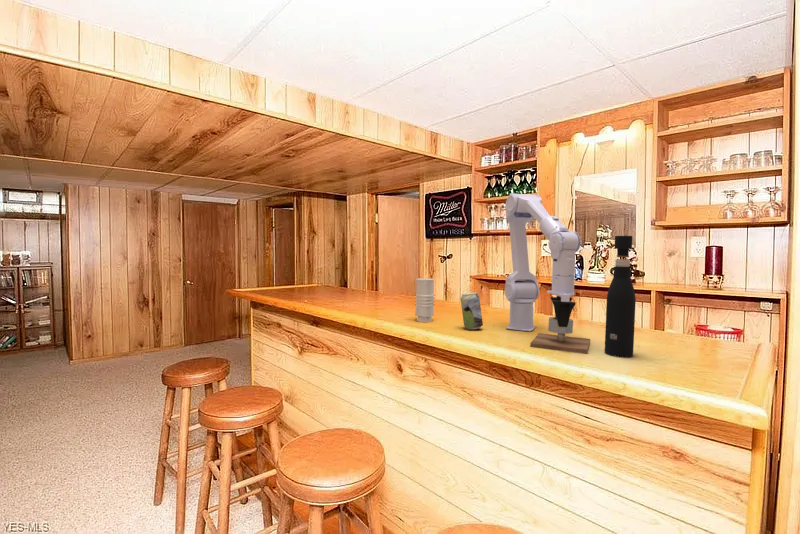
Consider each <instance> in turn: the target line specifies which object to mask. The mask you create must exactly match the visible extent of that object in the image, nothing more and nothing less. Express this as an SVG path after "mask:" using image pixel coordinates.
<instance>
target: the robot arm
mask: <svg viewBox="0 0 800 534" xmlns="http://www.w3.org/2000/svg"><path fill="white" fill-rule="evenodd" d="M505 215H506V216H505V217H506V221H508V223H509V234H510V250H511V262H512V273H511V274H509V275H508V276H507V277H506V278H505V286H504V295H505V297H506V299H507V301H509V325H508V326H506V329H507V330H515V331H523V332H532V331H533V330H534V329H535V328H536V327H537V325H536V324H534V303H536V300H537V299H538V297H539V296H540V292H541V291H540V287H539V284H538V280H537V277H536V276H535V274H533V273H532V272H531V271H530V264H529V250H528V240H527V239H528V238H527V228H526V227H527V226H526V225H527V224H528V223H529V222H531V221H532V220H533V219H535V220H536V221H537V222H538V223H539V231H540V232H542V234H543V235H544V237H545V238H546V239H547V240H548V247H549V248H548V249H549V250H550V258H551V259H552V268H551V271H552V272H551V274H552V275H551V290H547V291H546V294H549V295H550V294H551V295H554V296H551V297H550V299H551V302H552V305H553V309H554V317H557V321H558V325H559V327H567V326H568V323H569V319H571V318H570V317H571V314H572V311H573V309H574V308H575V306H576V301H572V300H573V298H572V297H573V296H575V294H576V293H575V275H576V274H575V273H576V253H577V252H578V251H579V250H580V248H581V244H582V239H581V236H580V235H579V233H578V232H577V231H572V230H569V229H568V228H567V226H565V225H564V224H563V223H562V221H561V220H560V217H558V216H555V215H550V214H549V212H548V211H547V210H546V208H545V207H544V205H543V199H542V197H540V195H539V194H528V193H527V194H526V193H525V194H523V193H515V192H513V193H512V192H511V193H510V194H509V195H508V196H507V199H506V202H505Z"/></svg>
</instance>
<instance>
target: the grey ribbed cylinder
mask: <svg viewBox="0 0 800 534" xmlns="http://www.w3.org/2000/svg"><path fill="white" fill-rule="evenodd" d="M415 281H416V286H415V287H416V290H415V292H416V294H415V297H414V298H415V305H414V306H415V316H416V317H417V318H416V322H418V323H419V322H420V323H431V322H433V321H434V320H433V318H432V317H433V316H435V310H434V309H435V304H434V303H435V295H436V294H435V293H434V292H435V281H436V280H435V278H426V277H425V278H424V277H423V278H422V277H421V278H420V277H419V278H415Z"/></svg>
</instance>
